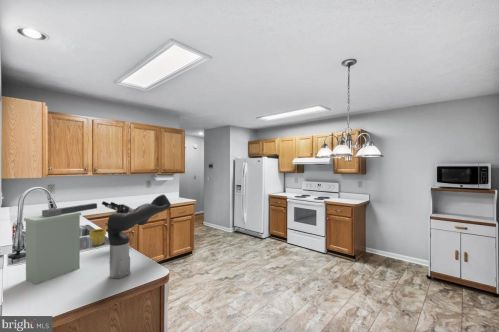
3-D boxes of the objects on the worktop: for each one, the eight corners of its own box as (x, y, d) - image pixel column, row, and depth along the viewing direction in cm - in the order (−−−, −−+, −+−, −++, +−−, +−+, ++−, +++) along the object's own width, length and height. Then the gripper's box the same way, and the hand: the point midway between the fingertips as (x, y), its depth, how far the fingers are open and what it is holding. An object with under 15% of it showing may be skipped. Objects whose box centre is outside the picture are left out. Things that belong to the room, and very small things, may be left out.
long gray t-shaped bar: (92, 207, 149) (92, 202, 149) (98, 208, 146) (98, 203, 146) (42, 215, 125) (42, 210, 125) (48, 217, 123) (48, 211, 123)
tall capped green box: (69, 264, 140) (69, 210, 139) (81, 268, 135) (81, 212, 135) (24, 280, 121) (23, 218, 120) (35, 285, 116) (35, 220, 116)
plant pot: (87, 246, 169) (87, 233, 169) (92, 242, 179) (92, 229, 179) (103, 245, 172) (103, 232, 172) (107, 241, 182) (107, 228, 182)
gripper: (129, 216, 168) (110, 209, 155) (116, 215, 174) (97, 207, 161) (134, 206, 171) (116, 198, 159) (121, 205, 177) (102, 197, 165)
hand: (106, 203), depth 160 cm, fingers open, 8 cm apart
